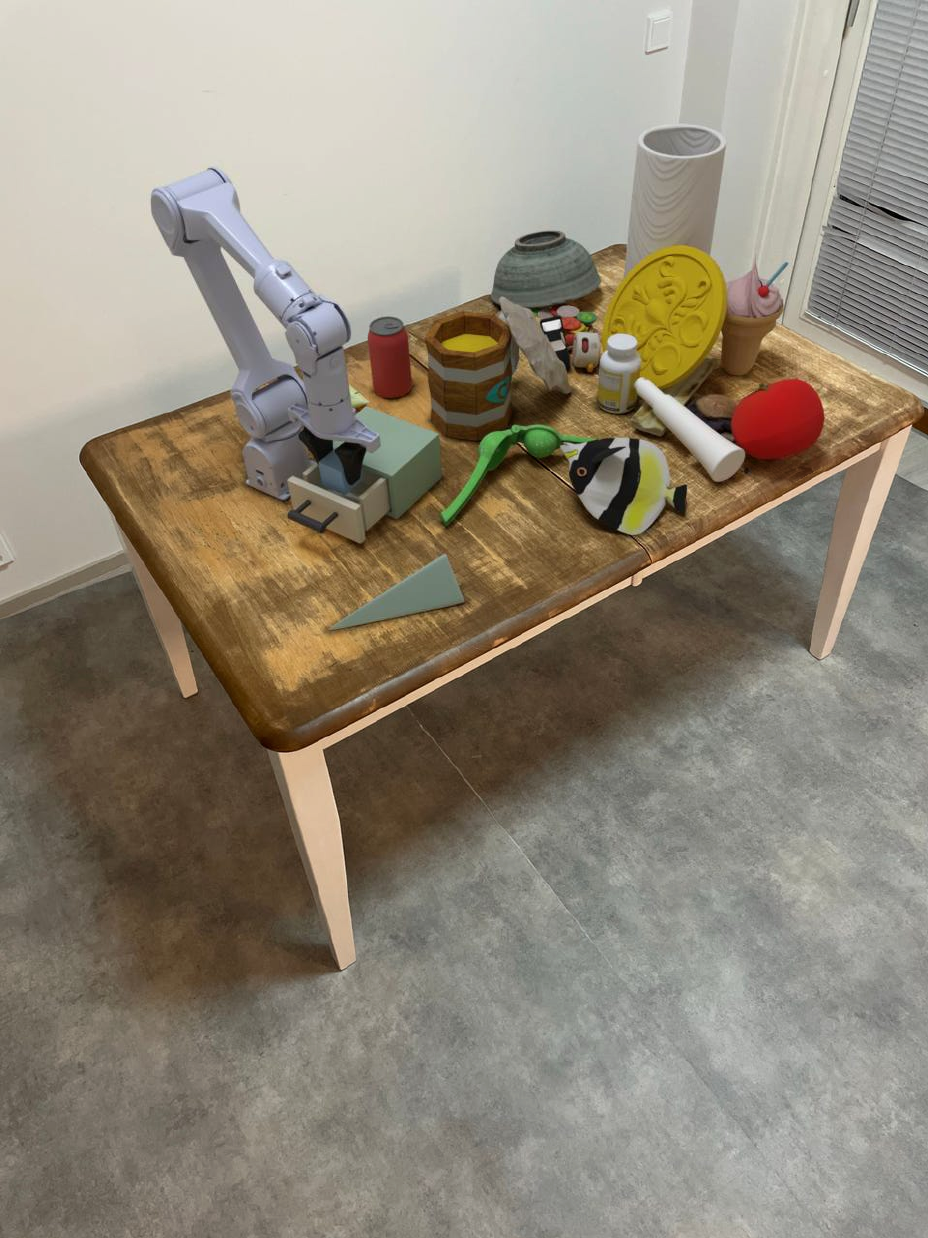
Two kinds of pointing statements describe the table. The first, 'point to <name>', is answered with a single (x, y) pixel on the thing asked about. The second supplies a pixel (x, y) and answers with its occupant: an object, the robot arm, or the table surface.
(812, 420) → the tomato
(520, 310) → the stone tool
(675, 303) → the decorative medallion
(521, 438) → the lime squeezer
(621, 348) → the pill bottle
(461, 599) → the thin wedge-shaped triangle plate
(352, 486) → the pale blue cube
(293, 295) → the robot arm
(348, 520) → the cream drawer
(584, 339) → the roller toy
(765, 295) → the ice cream cone
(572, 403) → the table surface
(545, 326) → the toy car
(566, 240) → the bowl
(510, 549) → the table surface
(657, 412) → the cosmetic bottle
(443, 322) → the mug
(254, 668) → the table surface
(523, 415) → the table surface
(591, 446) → the fish
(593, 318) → the toy food set
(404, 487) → the drawer cabinet
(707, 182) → the vase
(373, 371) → the beer can
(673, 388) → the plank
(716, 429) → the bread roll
